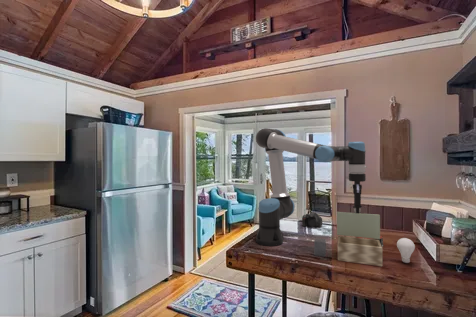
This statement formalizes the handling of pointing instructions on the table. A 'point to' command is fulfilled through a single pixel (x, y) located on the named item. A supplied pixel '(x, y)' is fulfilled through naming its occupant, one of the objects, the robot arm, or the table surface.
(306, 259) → the table surface
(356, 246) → the box
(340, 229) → the lid
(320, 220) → the camera
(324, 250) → the block
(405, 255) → the light bulb
